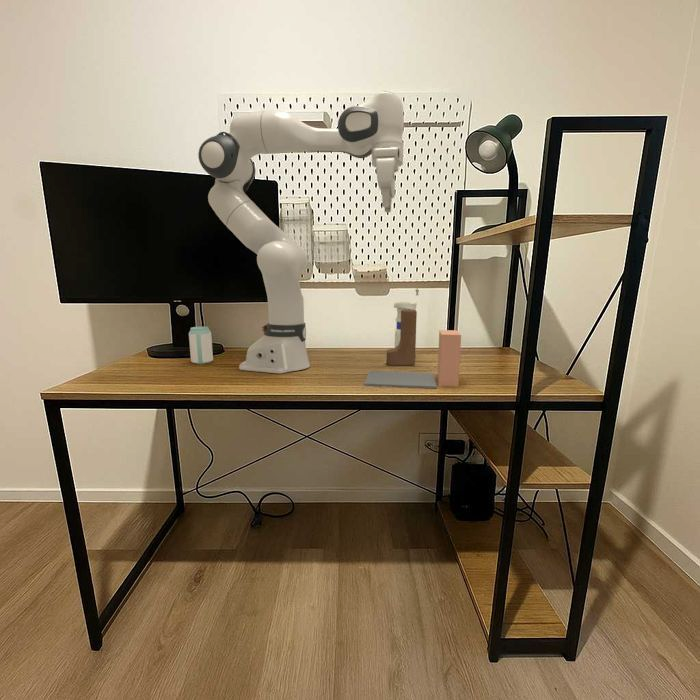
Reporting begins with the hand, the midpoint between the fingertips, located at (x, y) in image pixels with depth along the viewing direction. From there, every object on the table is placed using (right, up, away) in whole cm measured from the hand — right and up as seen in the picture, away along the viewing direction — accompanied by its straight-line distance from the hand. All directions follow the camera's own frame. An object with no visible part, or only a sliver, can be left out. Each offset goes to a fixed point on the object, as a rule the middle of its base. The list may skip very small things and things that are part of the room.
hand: (386, 209), depth 113 cm
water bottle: (+9, -43, +30) cm, 53 cm away
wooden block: (+6, -45, +18) cm, 49 cm away
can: (-61, -45, +21) cm, 79 cm away
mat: (+4, -49, -2) cm, 49 cm away
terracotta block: (+17, -49, -4) cm, 52 cm away
